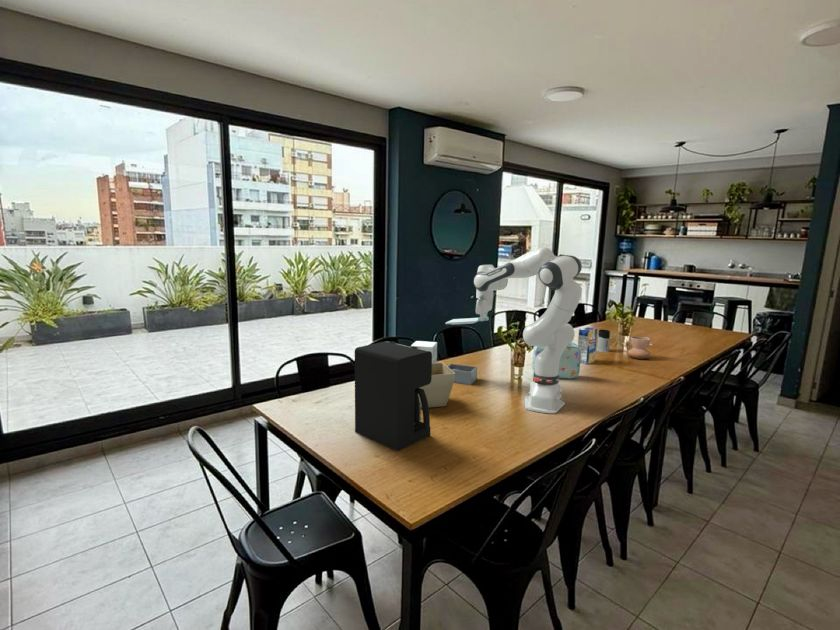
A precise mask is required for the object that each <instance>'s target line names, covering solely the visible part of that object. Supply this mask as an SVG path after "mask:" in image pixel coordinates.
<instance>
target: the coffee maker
mask: <svg viewBox="0 0 840 630" xmlns="http://www.w3.org/2000/svg"><path fill="white" fill-rule="evenodd" d="M353 352H354V433H355V434H358V435H360V436H363V437H364V438H367V439H369V440H371V441H374V442H376V443H378V444H380V445H383V446H385V447H387V448H388V449H389V448H390V449H392V450H393V451H396V452H399V451H402V450H404V449H406V448H408V447H410V446H412V445H414V444H416V443H418V442H421V441H423V440H425V439H427V438H428V437H430V436H431V422H430V421H431V419H430V416H431V415H430V409H429V407H428V401H427V398H426V394H425V392H424V389H421V388H420V387H423V386H426V385H428V384H430V383H431V379H432V353H431V352H430V351H427V350H422V349H418V347H415V346H413V347H411V346H408V345H404V344H399V343H397V342H395V341H381V342H376V343H371V344H368V345H363V346H358V347H356V348H355V349H354V351H353ZM418 394H419V396H420V400H421V403H420V402H419V396H418ZM421 404H422V408H421ZM421 414H422V415H421ZM421 416H422V417H421ZM422 418H423V419H422ZM422 420H423V421H422Z"/></svg>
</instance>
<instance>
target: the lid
mask: <svg viewBox="0 0 840 630" xmlns="http://www.w3.org/2000/svg"><path fill="white" fill-rule="evenodd" d="M480 319H481V318H480V316H479V317H470V318H468V317H467V318H452V319H451V320H448V321H446V322H445V324H444V325H452V326H453V325H471V324H475V323H478V322H482V321H481V320H480ZM489 320H490V318H489V316H487V317H484V321H485V322H486V321H489ZM484 321H483V322H484Z"/></svg>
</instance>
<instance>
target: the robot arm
mask: <svg viewBox="0 0 840 630" xmlns="http://www.w3.org/2000/svg"><path fill="white" fill-rule="evenodd" d="M582 268H583V267H582V261H580V259H579V258H578V257H577V256H574V255H569V254H567V255H566V254H558V256H557V255H555V254H554V252H553V251H552V250H551V249H550V248H548V247H545V246H543V247H538V248H536V249H532V250H530V251H528V252H526V253H524V254H523V255H520V256H519V257H517V258H515V259H513V260H511V261H509V262H506V263H504V264H503V265H499V266H498V267H494V265H493V264H492V263H491V264H489V263H488V264H487V263H486V264H481V265H479V266H478V267H477V272H476V274H475V276H474V277H473V285H474V287H475V289H476V293H475V295H476V297H475V298H476V299H477V300H476V304H475V314H476V315H479V317H480V318H481V319H480V320H481V321H480V322H484V317H488V312H490V311H492V309H493V302H494V297H495V292H494V291H502V290H505V289H506V288H507V286H508V280H509V279H522V278H523V279H525V278H530V277H534V276H537V275H538V279H539V280H540V282H541V283H542V284H543V285H544V286H545V287H547V288H548V289H549V290H551V291H554V294H553V296H552V299H551V301H550V303H549V304H548V306H547V309H546V310H545V311H544V313H543V314H542V315H540V317H538V318H537V319H536V320H535V321H533V322H532V323H530V324H529V325H527V326H525V327H524V329H523V332H522V338H523V341H524V342H525V344H526V345H528V346H531V347H534V346H537V347H540V346H545V348H544V350H543V351H542V352H541V353H539V354H538V355H537V356H536V358H535V372H534V371H533V375H532V381H531V382H529V391H528V392H527V395H526V396H524V408H525V410H529V411H532V412H537V413H543V414H556V413H558V412H559V411H560V410H561V409H562V408H563V407H564V406H565V405H566V404H565V401H562V386H561V385H560V379H559V374H558V371H559V362H560V358H561V355H562V353H563V351H564V349H565V348H566V347H567V345H568V344H570V343H571V342H573V341H574V339H575V333H576V332H575V330H574V327H573V326H572V325H571V324H570V323H569V322H570V321H571V319H572V317H573V315H574V313H575V311H576V309H577V308H578V305H579V303H580V301H581V297H582V294H583V288H582V286H581V284H579V282H577V281H576V280H575V278H577V277H578V275H580V273H581V271H582Z"/></svg>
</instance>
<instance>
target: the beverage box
mask: <svg viewBox="0 0 840 630" xmlns="http://www.w3.org/2000/svg"><path fill="white" fill-rule="evenodd" d="M597 340H598V328H595V327H588V326H587V327H583V328H579V329H578V340H577V346H578V347H579V348H580V350H581V360H580V364H582V363H583V365H589V364H592V363H595V361H596V352H597V351H596V350H597Z"/></svg>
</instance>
